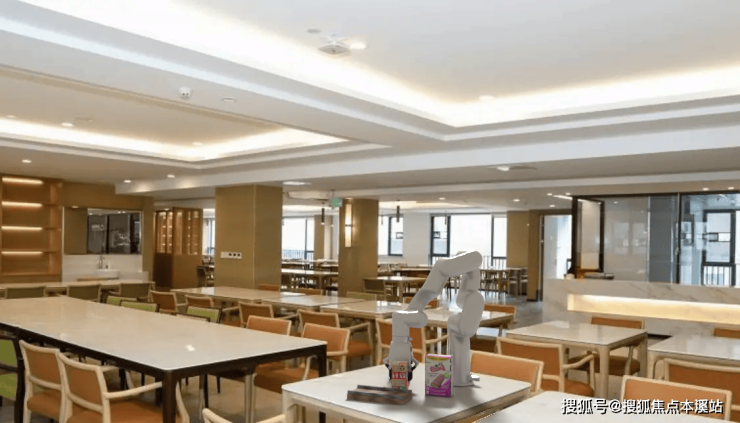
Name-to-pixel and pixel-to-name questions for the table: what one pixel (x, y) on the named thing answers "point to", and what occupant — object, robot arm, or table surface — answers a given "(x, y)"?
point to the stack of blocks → (400, 374)
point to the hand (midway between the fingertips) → (400, 379)
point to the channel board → (380, 394)
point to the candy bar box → (439, 375)
